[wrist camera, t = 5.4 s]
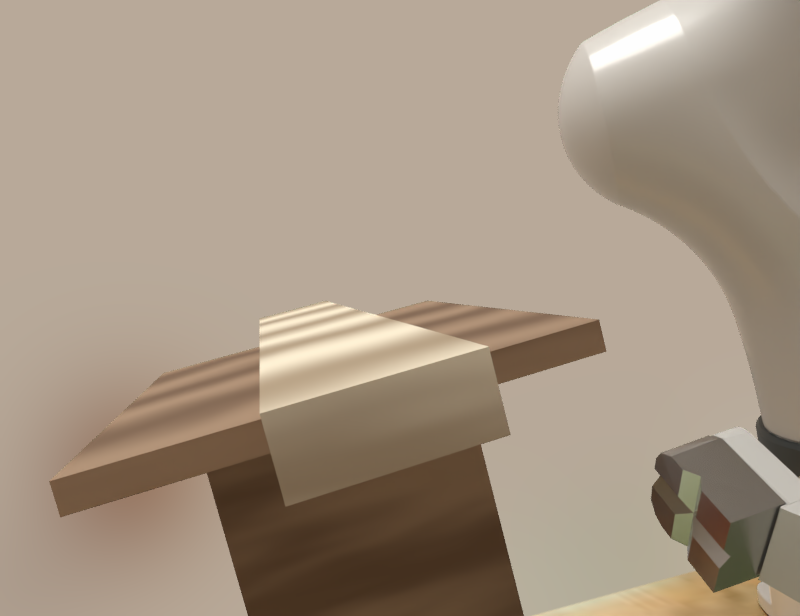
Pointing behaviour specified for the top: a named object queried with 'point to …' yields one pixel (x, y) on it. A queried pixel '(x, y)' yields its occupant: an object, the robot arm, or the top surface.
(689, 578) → the top surface
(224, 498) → the walnut stand
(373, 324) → the birch slat
